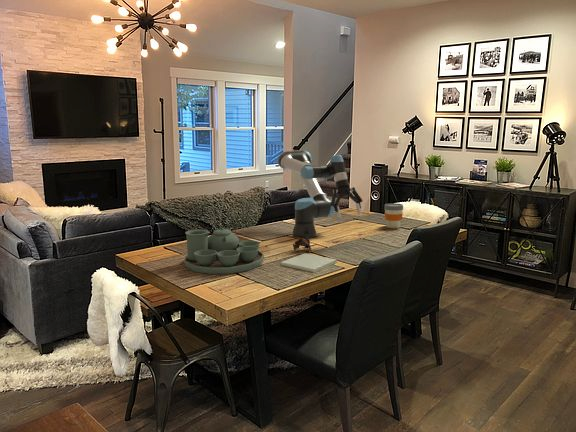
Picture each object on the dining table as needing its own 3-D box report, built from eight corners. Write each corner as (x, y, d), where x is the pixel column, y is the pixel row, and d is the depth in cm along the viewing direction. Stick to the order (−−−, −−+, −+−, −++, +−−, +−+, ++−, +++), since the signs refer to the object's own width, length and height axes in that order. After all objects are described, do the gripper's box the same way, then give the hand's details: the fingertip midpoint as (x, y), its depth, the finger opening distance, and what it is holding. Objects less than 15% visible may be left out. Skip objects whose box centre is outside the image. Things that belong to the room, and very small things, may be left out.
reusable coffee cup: (405, 225, 316) (406, 204, 313) (399, 229, 305) (399, 207, 303) (387, 224, 322) (388, 202, 320) (380, 227, 312) (381, 205, 309)
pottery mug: (309, 255, 248) (301, 242, 247) (296, 260, 254) (288, 248, 252) (317, 244, 258) (309, 232, 257) (304, 249, 263) (296, 238, 262)
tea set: (207, 280, 208) (205, 245, 205) (172, 260, 240) (170, 229, 237) (279, 264, 231) (279, 232, 228) (239, 248, 263) (238, 220, 259)
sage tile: (281, 265, 230) (281, 262, 229) (304, 256, 245) (304, 253, 245) (314, 272, 217) (314, 269, 217) (336, 262, 233) (336, 259, 233)
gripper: (325, 180, 263) (333, 216, 259) (362, 177, 272) (371, 211, 269) (320, 184, 270) (327, 219, 266) (356, 181, 279) (364, 214, 275)
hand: (349, 215), depth 267 cm, fingers open, 13 cm apart
